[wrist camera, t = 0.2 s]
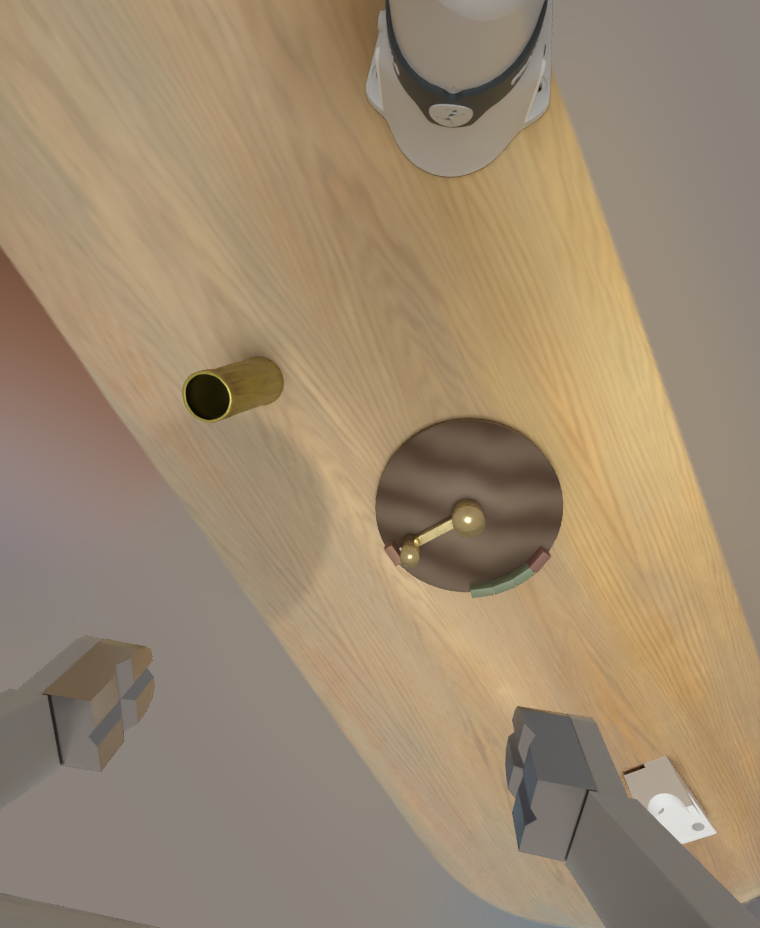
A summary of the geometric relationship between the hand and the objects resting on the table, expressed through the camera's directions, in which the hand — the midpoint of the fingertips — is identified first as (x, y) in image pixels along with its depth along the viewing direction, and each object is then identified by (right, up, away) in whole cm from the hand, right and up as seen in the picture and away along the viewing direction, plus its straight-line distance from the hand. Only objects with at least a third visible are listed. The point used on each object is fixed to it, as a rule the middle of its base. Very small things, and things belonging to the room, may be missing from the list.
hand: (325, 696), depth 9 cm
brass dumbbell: (+9, -3, +47) cm, 48 cm away
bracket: (+46, -47, +59) cm, 88 cm away
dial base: (+13, -1, +48) cm, 50 cm away
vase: (-14, +16, +47) cm, 52 cm away
